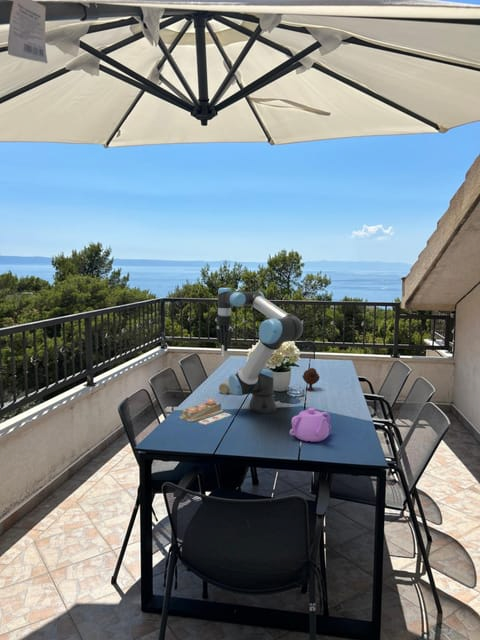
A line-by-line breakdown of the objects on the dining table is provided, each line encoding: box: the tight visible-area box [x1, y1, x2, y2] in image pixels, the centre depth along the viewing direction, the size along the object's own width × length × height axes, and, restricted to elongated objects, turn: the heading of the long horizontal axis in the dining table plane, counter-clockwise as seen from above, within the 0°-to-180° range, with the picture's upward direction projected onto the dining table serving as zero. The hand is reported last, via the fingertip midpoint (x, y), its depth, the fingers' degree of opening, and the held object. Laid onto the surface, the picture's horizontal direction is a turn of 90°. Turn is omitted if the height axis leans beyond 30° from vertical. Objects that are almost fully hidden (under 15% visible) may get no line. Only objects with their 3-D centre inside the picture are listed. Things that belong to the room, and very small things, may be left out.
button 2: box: [206, 397, 216, 406], centre depth 251 cm, size 5×5×4 cm
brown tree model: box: [302, 367, 320, 392], centre depth 299 cm, size 11×11×15 cm
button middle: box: [196, 403, 206, 409], centre depth 246 cm, size 5×5×4 cm
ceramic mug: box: [218, 379, 234, 395], centre depth 290 cm, size 11×8×8 cm
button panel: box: [178, 401, 224, 423], centre depth 246 cm, size 10×23×4 cm, turn 140°
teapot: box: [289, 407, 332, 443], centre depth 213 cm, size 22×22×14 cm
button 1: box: [187, 406, 197, 412], centre depth 241 cm, size 5×5×4 cm
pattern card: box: [197, 412, 232, 426], centre depth 240 cm, size 5×20×1 cm, turn 140°
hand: (224, 356), depth 262 cm, fingers closed
